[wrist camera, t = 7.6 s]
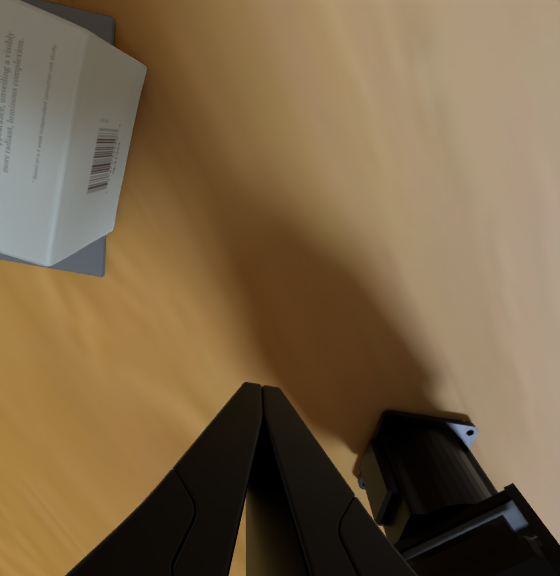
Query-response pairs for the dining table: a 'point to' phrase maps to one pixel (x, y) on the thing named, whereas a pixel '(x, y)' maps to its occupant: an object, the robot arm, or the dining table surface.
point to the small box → (60, 133)
